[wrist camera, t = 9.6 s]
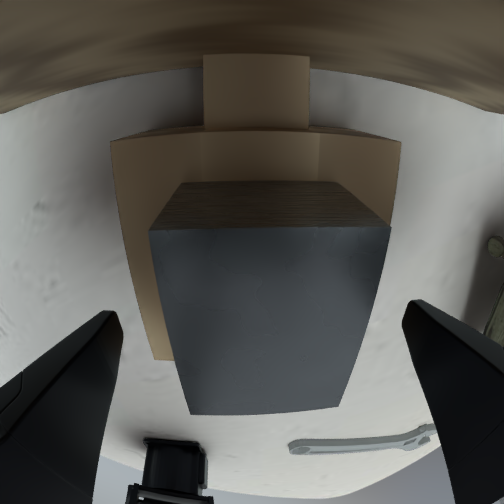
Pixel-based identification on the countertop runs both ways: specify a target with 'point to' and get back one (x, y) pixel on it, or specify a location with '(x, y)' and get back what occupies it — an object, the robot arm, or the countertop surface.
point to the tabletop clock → (500, 321)
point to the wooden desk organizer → (248, 90)
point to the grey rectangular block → (266, 291)
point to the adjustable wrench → (363, 443)
